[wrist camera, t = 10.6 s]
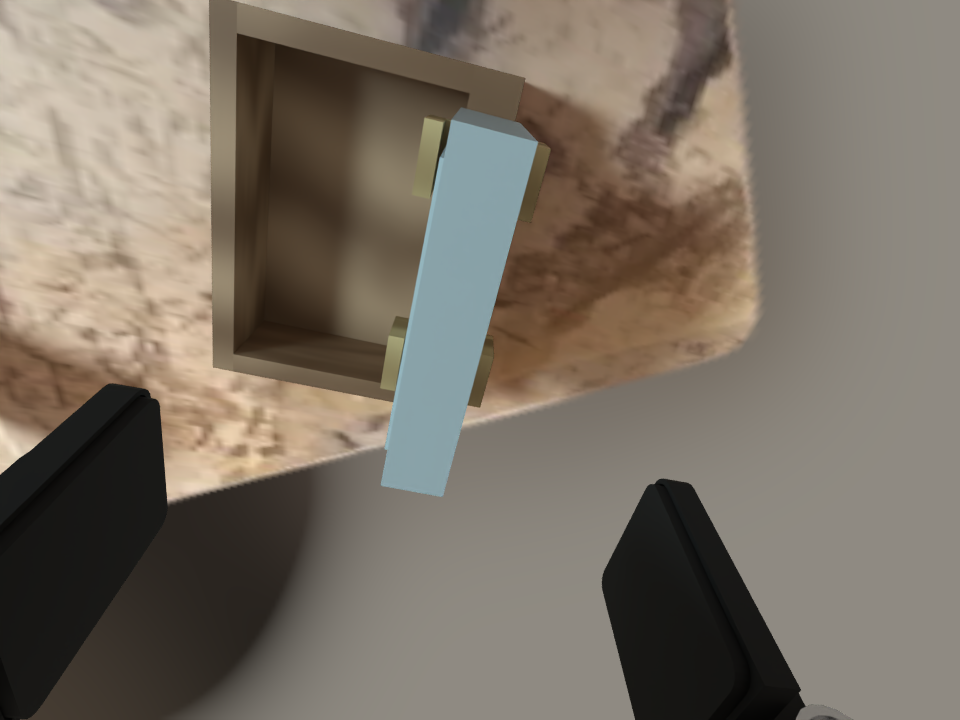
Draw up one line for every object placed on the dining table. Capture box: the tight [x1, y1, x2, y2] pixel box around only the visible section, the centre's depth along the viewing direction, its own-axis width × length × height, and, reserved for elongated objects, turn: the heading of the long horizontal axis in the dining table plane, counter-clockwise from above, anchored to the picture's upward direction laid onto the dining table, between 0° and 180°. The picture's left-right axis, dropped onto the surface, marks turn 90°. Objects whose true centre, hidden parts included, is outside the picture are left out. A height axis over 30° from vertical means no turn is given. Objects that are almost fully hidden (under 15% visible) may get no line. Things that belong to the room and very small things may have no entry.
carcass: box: [209, 0, 551, 408], centre depth 25 cm, size 16×13×7 cm
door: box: [381, 107, 538, 497], centre depth 20 cm, size 13×3×8 cm, turn 167°
